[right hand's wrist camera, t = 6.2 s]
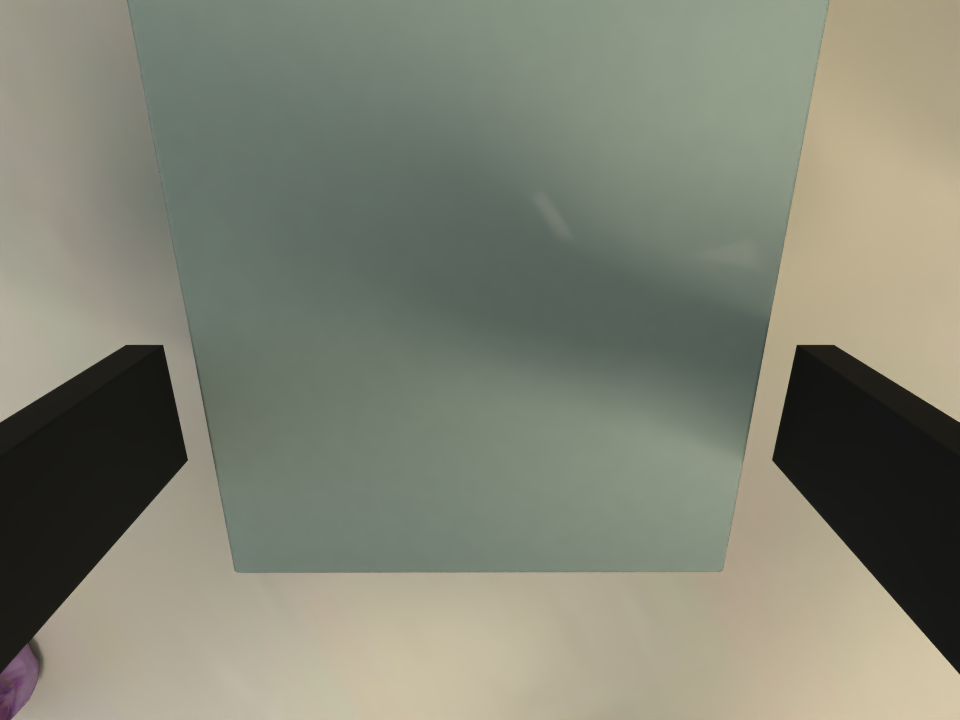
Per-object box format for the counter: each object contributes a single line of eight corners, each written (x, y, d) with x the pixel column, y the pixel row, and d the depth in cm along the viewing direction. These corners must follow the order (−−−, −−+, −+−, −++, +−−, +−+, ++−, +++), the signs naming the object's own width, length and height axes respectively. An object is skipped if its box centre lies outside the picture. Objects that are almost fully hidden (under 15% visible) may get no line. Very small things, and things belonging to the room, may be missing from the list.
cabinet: (258, -333, 15) (-73, -1038, 6) (697, -332, 15) (1026, -1033, 6) (332, 398, 22) (233, 574, 13) (625, 397, 22) (724, 573, 13)
